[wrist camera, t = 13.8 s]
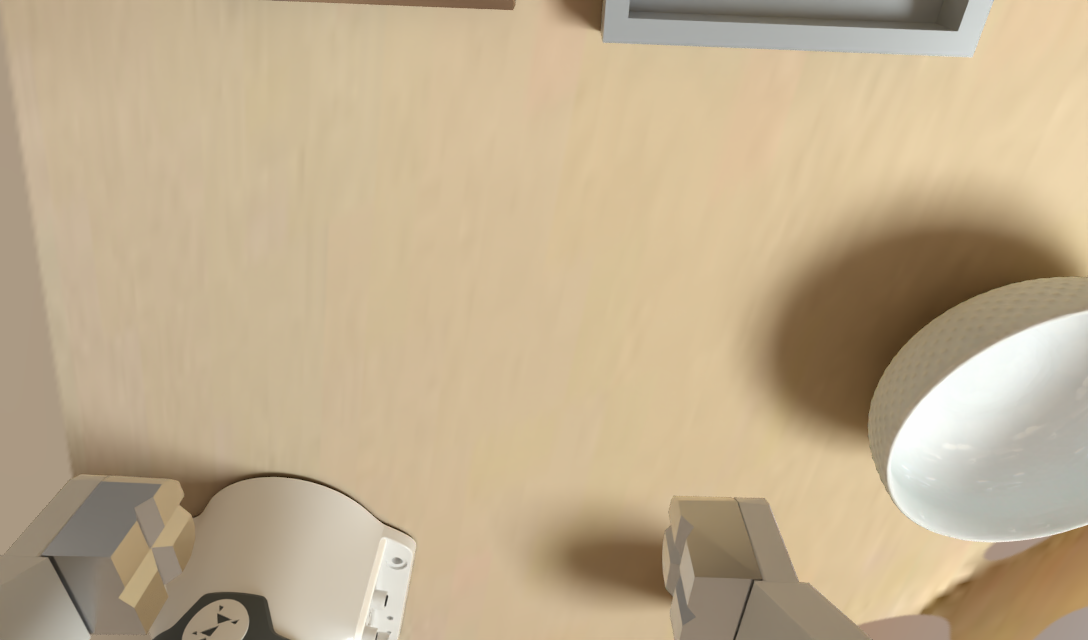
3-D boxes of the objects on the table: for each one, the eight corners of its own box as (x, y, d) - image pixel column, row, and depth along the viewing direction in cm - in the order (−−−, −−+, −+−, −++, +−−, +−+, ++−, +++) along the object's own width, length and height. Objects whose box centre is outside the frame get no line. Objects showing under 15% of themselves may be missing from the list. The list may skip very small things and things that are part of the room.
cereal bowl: (984, 487, 46) (1045, 575, 40) (786, 412, 43) (821, 496, 37) (1205, 303, 37) (1324, 380, 31) (977, 191, 34) (1063, 254, 28)
